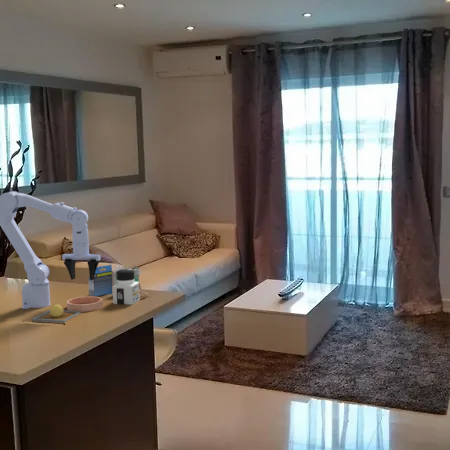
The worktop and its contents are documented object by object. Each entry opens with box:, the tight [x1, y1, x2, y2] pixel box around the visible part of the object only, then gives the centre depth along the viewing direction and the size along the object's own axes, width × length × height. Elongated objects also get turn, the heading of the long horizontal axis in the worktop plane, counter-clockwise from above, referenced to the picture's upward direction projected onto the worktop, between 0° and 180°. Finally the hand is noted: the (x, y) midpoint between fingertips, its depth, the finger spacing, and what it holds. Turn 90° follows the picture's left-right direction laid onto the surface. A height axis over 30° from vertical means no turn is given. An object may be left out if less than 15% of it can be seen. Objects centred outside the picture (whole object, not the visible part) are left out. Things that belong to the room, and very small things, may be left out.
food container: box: [114, 266, 142, 284], centre depth 243 cm, size 12×6×10 cm, turn 148°
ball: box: [49, 303, 64, 318], centre depth 210 cm, size 4×4×4 cm
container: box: [112, 268, 141, 305], centre depth 228 cm, size 8×8×13 cm
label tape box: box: [88, 264, 113, 297], centre depth 241 cm, size 9×4×12 cm, turn 136°
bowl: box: [66, 295, 104, 313], centre depth 221 cm, size 13×13×3 cm
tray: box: [31, 309, 82, 325], centre depth 210 cm, size 12×12×1 cm
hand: (82, 279), depth 226 cm, fingers open, 7 cm apart
